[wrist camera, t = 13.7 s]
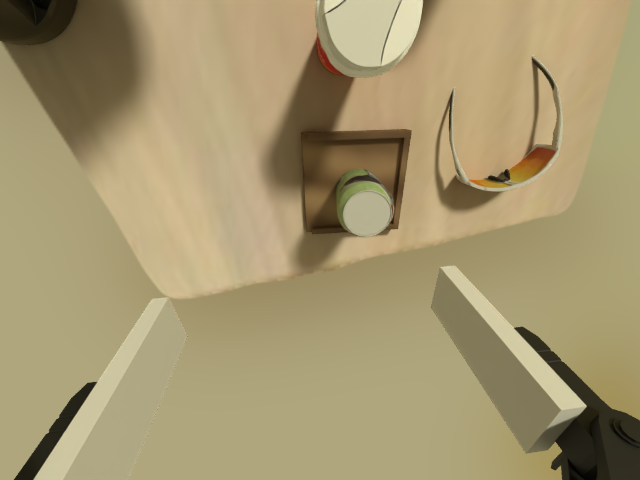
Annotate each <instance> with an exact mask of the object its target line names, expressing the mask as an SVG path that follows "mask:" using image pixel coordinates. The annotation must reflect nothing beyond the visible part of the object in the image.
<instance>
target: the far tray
mask: <svg viewBox="0 0 640 480" xmlns="http://www.w3.org/2000/svg"><path fill="white" fill-rule="evenodd" d="M301 134H302V153H303V172H304V191H305V210H306V229H307V232H312V234H322V233H338V232H348V231H347V230H345V229H344V227H343V226H342V225H341V223H340V221H339V219H338V215H337V200H336V187H337V184H338V181H339V180H340V178H341V177H342V176H343V175H344V174H345V173H346V172H348V171H350V170H353V169H365V170H368V171H370V172H371V173H372V174H374V175H375V177H376V178H377V179H378V180H379V181H380V182H381V183H382V184H383V186H384V187H385V188H386V189H387V190H388V191H389V193H390V194H391V196H392V198H393V201H394V214H393V218H392V220H391V222H390V223H389V225H388V226H387V227H386V228H385V229H384V230H389V229H398V225H399V217H400V210H401V203H402V196H403V189H404V182H405V174H406V167H407V160H408V153H409V146H410V139H411V130H407V129H397V130H367V131H338V132H308V133H301Z"/></svg>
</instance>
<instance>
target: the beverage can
mask: <svg viewBox="0 0 640 480" xmlns="http://www.w3.org/2000/svg"><path fill="white" fill-rule="evenodd" d="M336 200H337V215H338V219H339V221H340V223H341V225H342V226H343V227H344V229H345V230H347V231H348V232H349V233H351V234H353V235H356V236H361V237H369V236H374V235H376V234H378V233H380V232H382V231H383V230H384V229H385V228H386V227H387V226H388V225H389V223H390V222H391V220H392V218H393V214H394V201H393V198H392V196H391V194H390V193H389V191H388V190H387V189H386V188H385V187H384V186H383V184H382V183H381V182H380V181H379V180H378V179H377V178H376V177H375V175H374V174H372V173H371V172H370V171H368V170H365V169H353V170H350V171H348V172H346V173H345V174H344V175H343V176H342V177H341V178H340V180H339V181H338V184H337V187H336Z"/></svg>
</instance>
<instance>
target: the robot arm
mask: <svg viewBox="0 0 640 480" xmlns="http://www.w3.org/2000/svg"><path fill="white" fill-rule="evenodd" d="M76 1H77V0H0V41H5V42H10V43H15V44H25V45H30V44H39V43H43V42H46V41H49V40H51V39H53V38H55V37H56V36H58V35H59V34H60V33H61V32H62V31H63V30H64V29H65V28H66V27H67V25H68V24H69V22H70V20H71V18H72V16H73V13H74V10H75V6H76ZM431 308H432V310H433V311H434V313H435V314H436V316H437V317H438V319H439V320H440V322H441V323H442V325H443V327H444V328H445V330H446V331H447V333H448V334H449V336H450V337H451V339H452V340H453V342H454V344H455V345H456V347H457V348H458V350H459V351H460V353H461V354H462V356H463V357H464V359H465V360H466V362H467V364H468V365H469V367H470V368H471V370H472V371H473V373H474V374H475V376H476V377H477V379H478V380H479V382H480V384H481V385H482V387H483V388H484V390H485V391H486V393H487V394H488V396H489V397H490V399H491V401H492V402H493V404H494V405H495V407H496V408H497V410H498V411H499V413H500V414H501V416H502V417H503V419H504V421H505V422H506V424H507V425H508V427H509V428H510V430H511V431H512V433H513V434H514V436H515V437H516V439H517V441H518V442H519V444H520V445H521V447H522V448H523V450H524V451H525V453H532V452H538V451H545V450H548V449H549V448H550V447H551V446H552V445H553V444H554V442H556V443H557V444H558V446H559V447H560V448H561V449H562V452H561V453H560V454H559V455H558V456H557V457H556V458H555V459H554V461H553V462H552V465H551V468H552V469H553V470H556V469H557V468H558V467H559V466H560V465H561V470H562V480H640V421H639V420H638V419H636V418H634V417H632V416H630V415H628V414H627V413H624V412H621V411H617V410H614V409H611V408H610V407H609V406H608V405H607V404H606V403H605V402H603V401H602V400H601V399H600V398H599V397H598V396H597V395H596V394H595V393H594V392H593V391H592V390H591V389H590V388H589V387H588V386H587V385H586V384H585V383H584V382H583V381H582V380H581V379H580V378H579V377H578V376H577V375H576V374H575V373H574V372H573V371H572V370H571V369H570V368H569V367H568V366H567V365H566V364H565V363H564V362H562V361H561V359H560V358H559V357H558V356H557V355H556V354H555V353H554V352H552V351H551V350H550V348H549V347H548V346H547V345H546V344H545V343H544V342H543V341H542V340H541V339H540V338H539V337H538V336H536V335H535V334H533V333H532V332H530V331H528V330H527V329H525V328H524V327H516V328H513V327H512V326H511V325H510V324H509V323H508V322H507V321H506V319H505V318H503V316H502V315H500V313H499V312H498V311H497V310H496V309H495V308H494V307H493V306H492V305H491V303H490V302H489V301H488V300H487V299H486V298H485V297H484V296H483V295H482V294H481V293H480V292H479V291H478V290H477V289H476V287H474V285H473V284H472V283H471V282H470V281H469V280H468V279H467V278H466V277H465V276H464V275H463V274H462V273H461V272H460V271H459V269H458V268H457V267H456V266H446V267H440V269H439V274H438V278H437V283H436V287H435V292H434V296H433V301H432V305H431ZM186 339H187V334H186V332H185V330H184V328H183V326H182V324H181V322H180V320H179V317H178V315H177V314H176V311H175V309H174V307H173V305H172V303H171V301H170V299H169V297H166V298H157V299H152V300H151V301H150V303H149V304H148V306H147V307H146V309H145V310H144V312H143V314H142V315H141V316H140V318H139V320H138V321H137V322H136V324H135V326H134V327H133V329H132V330H131V332H130V333H129V335H128V336H127V338H126V339H125V341H124V342H123V344H122V345H121V347H120V349H119V350H118V352H117V353H116V355H115V356H114V358H113V359H112V361H111V362H110V364H109V365H108V367H107V368H106V370H105V372H104V373H103V374H102V376H101V378H100V379H99V380H98V382H92V383H87V384H86V385H85V386H84V387H83V388H82V389H81V390H80V391H79V392H78V393H76V394H75V395H74V396H73V397H72V398H71V400H70V401H69V402H68V404H67V406H66V407H65V408H64V410H63V411H62V412H61V414H60V416H59V418H58V419H56V421H55V422H54V424H53V425H52V426H51V428H50V429H49V433H48V434H46V435H45V436H44V438H43V439H42V441H41V442H40V444H39V445H38V447H37V448H36V450H35V451H34V452H33V453H32V455H31V456H30V458H29V459H28V461H27V462H26V464H25V465H24V466H23V468H22V469H21V471H20V472H19V473H18V475H17V476H16V478H15V479H14V480H129V477H130V475H131V473H132V470H133V468H134V466H135V463H136V461H137V458H138V456H139V453H140V451H141V449H142V446H143V444H144V441H145V439H146V437H147V434H148V432H149V429H150V427H151V424H152V422H153V419H154V417H155V415H156V412H157V410H158V407H159V405H160V402H161V400H162V398H163V395H164V393H165V390H166V388H167V385H168V383H169V381H170V378H171V375H172V373H173V371H174V368H175V366H176V363H177V361H178V359H179V356H180V354H181V351H182V349H183V346H184V344H185V342H186Z"/></svg>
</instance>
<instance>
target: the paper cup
mask: <svg viewBox="0 0 640 480" xmlns="http://www.w3.org/2000/svg"><path fill="white" fill-rule="evenodd" d="M422 7H423V0H316V8H315V17H316V27H317V51H318V55H319V58H320V61H321V62H322V64H323V65H324V67H325V68H326V69H327V70H329V71H330V72H332V73H334V74H338V75H347V76H349V77H363V78H367V77H374V76H377V75H381V74H383V73H385V72H387V71H389V70H390V69H391V68H393V67H394V66H395V65H396V64H397V63H398V62H399V61H401V60H402V58H403V57H404V56H405V54H406V53H407V52H408V50H409V48H410V47H411V45H412V43H413V41H414V39H415V37H416V34H417V31H418V28H419V25H420V19H421V14H422Z"/></svg>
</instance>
